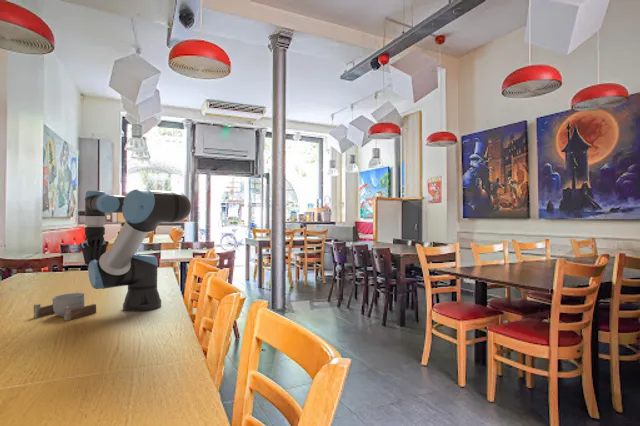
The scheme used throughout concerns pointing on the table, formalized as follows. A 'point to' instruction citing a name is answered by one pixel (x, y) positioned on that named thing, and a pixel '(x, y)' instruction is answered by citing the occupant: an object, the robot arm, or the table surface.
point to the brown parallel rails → (65, 311)
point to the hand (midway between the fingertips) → (94, 280)
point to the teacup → (67, 302)
